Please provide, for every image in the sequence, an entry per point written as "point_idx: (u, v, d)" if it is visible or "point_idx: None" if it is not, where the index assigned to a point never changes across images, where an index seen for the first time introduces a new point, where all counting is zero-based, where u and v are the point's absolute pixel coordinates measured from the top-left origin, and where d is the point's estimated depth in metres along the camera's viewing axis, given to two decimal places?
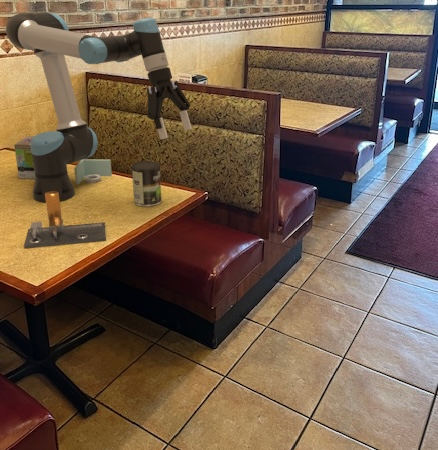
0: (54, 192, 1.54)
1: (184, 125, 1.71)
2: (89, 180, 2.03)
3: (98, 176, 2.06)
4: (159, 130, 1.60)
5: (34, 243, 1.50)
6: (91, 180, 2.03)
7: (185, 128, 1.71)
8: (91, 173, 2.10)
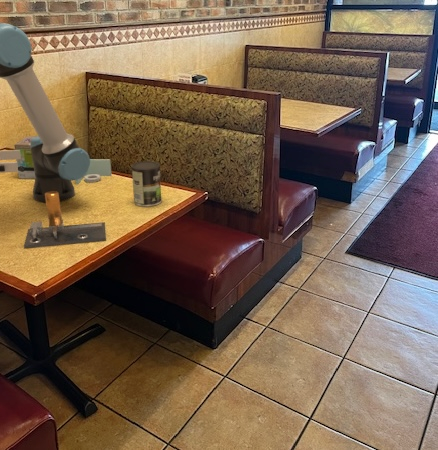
0: (54, 192, 1.54)
1: None
2: (89, 180, 2.03)
3: (98, 176, 2.06)
4: None
5: (34, 243, 1.50)
6: (91, 180, 2.03)
7: None
8: (91, 173, 2.11)
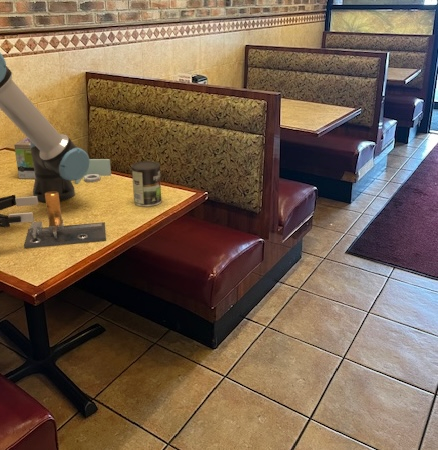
0: (54, 192, 1.54)
1: None
2: (88, 180, 2.03)
3: (97, 176, 2.06)
4: None
5: (34, 243, 1.50)
6: (90, 180, 2.04)
7: None
8: (90, 173, 2.11)
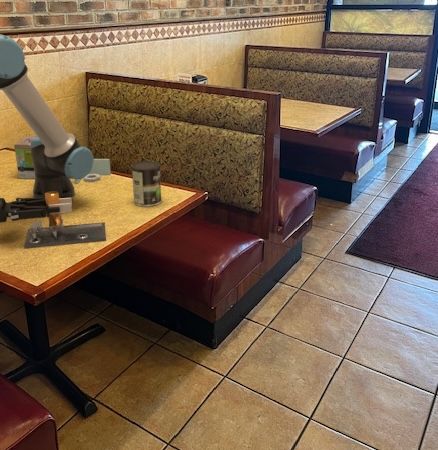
0: (54, 192, 1.54)
1: None
2: (88, 179, 2.04)
3: (97, 175, 2.07)
4: None
5: (34, 243, 1.50)
6: (90, 179, 2.04)
7: None
8: (90, 172, 2.11)
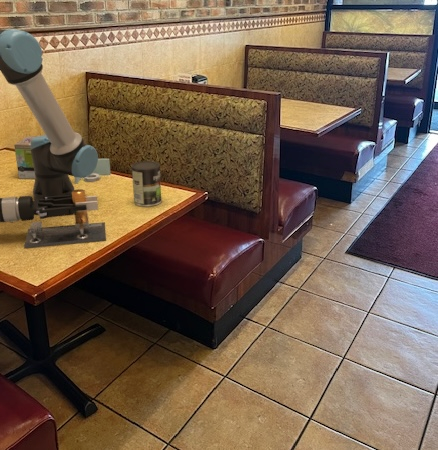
0: (81, 190, 1.56)
1: None
2: (88, 179, 2.04)
3: (97, 175, 2.07)
4: None
5: (34, 243, 1.50)
6: (90, 179, 2.04)
7: None
8: None
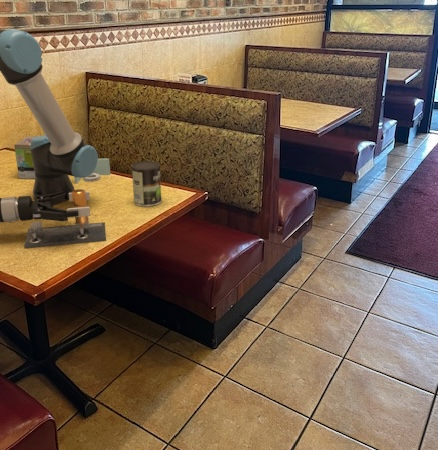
0: (81, 190, 1.56)
1: None
2: (88, 179, 2.04)
3: (97, 175, 2.07)
4: None
5: (34, 243, 1.50)
6: (90, 179, 2.04)
7: None
8: None
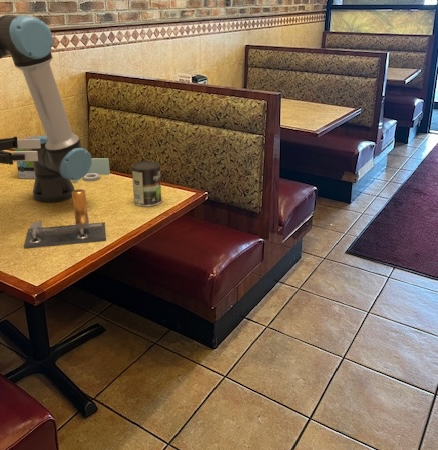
0: (81, 190, 1.56)
1: None
2: (87, 179, 2.05)
3: (96, 175, 2.08)
4: None
5: (34, 243, 1.50)
6: (89, 179, 2.05)
7: None
8: (89, 172, 2.12)
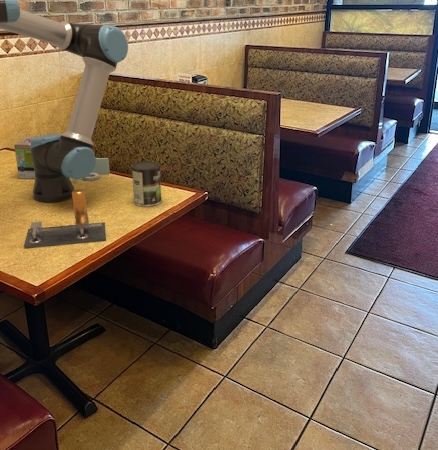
0: (81, 190, 1.56)
1: None
2: (87, 178, 2.05)
3: (96, 174, 2.08)
4: None
5: (34, 243, 1.50)
6: (89, 178, 2.05)
7: None
8: None
